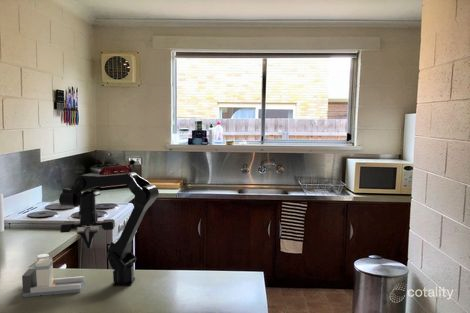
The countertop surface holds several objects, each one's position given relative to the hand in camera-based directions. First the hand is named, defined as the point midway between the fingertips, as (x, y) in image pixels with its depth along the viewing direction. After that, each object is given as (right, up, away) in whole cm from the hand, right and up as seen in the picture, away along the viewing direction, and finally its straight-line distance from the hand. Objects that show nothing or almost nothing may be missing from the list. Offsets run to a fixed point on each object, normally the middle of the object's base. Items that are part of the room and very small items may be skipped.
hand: (89, 247), depth 145 cm
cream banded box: (-12, -11, -9) cm, 19 cm away
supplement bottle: (-17, -12, 0) cm, 21 cm away
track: (-9, -13, -9) cm, 18 cm away
